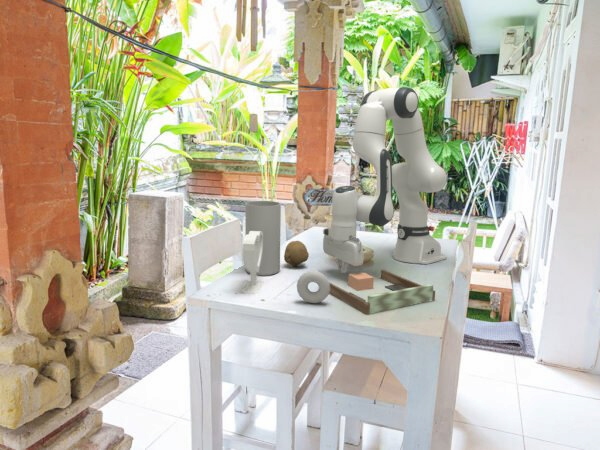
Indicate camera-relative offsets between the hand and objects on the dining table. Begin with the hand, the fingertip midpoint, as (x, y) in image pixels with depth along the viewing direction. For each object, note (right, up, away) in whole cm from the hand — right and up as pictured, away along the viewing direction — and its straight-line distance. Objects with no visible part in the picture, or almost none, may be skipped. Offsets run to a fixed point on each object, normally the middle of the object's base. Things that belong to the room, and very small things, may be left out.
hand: (341, 271), depth 162 cm
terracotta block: (+5, -4, -9) cm, 11 cm away
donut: (-11, -7, -25) cm, 28 cm away
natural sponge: (-16, 0, +13) cm, 21 cm away
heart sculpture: (-30, -4, -11) cm, 32 cm away
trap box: (+9, -6, -16) cm, 19 cm away
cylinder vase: (-28, -1, +6) cm, 29 cm away
